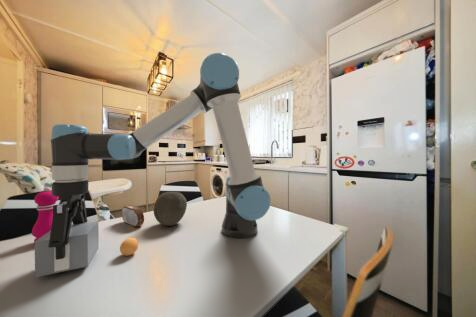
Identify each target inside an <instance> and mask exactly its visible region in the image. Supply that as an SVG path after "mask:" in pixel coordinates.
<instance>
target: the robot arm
mask: <svg viewBox="0 0 476 317" xmlns="http://www.w3.org/2000/svg"><path fill="white" fill-rule="evenodd" d="M199 74H200V81H199V84H198V85H197V86H196V88H194V89H192V90H191V91H190V92H189V93H190V94H189V95H188V96H186V97H185V98H184V99H182V100H180V101H179V102H177V103H176V104H174V105H173V106H170V107H169V108H168V109H166V110H165V111H163V112H162V113H160V114H158V115H157V116H156V117H155V116H154V117H153V119H151V120H149V121H148V122H146V123H144V124H143V125H140V127H138V128H136V129H135V130H134V131H132V132H130V133H129V134H122V133H90V132H89V129H88V127H87V126H83V125H78V124H66V123H63V124H61V123H59V124H55V125H53V126H52V128H51V138H50V147H51V168H50V169H49V172H50V173H51V180H52V181H53V182H52V183H51V191H52V195H53V196H56V197H59V203H58V204H57V205H54V206H53V219H52V226H51V233H50V240H49V248H51V247H54V272H56V271H61V270H66V269H69V268H70V243H68V238H69V234H70V229H71V225H73V224H81V223H88V215H87V207H86V195H85V194H87V193H88V192H89V180H87V179H89V160H116V161H123V160H133V159H136V158H138V157H140V156H141V154H142V153H143V152H145V150H147V149H148V148H150V147H151V146H153V145H154V144H156V143H158V142H159V141H161V140H162V139H164V138H165V137H166V136H168V135H169V134H171V133H173V132H174V131H175V130H177V129H179V128H180V127H181V126H183V125H184V124H186V123H188V122H190V121H191V120H193V119H194V118H196V117H197V116H199V114H201V113H203V114H206V113H208V112H209V111H211V110H212V111H213V114H214V118H215V122H216V125H217V130H218V133H219V137H220V141H221V144H222V149H223V152H224V157H225V160H226V163H227V168H228V172H229V176H228V177H227V178H226V179H225V180H226V181H225V214H224V216H223V220H222V223H221V232H222V234H224V235H225V236H227V237H228V238H229V237H230V238H235V239H236V238H237V239H246V238H250V237H253V236H255V235H256V234H257V232H258V223H257V220H260V219H262V218H263V217H264V216H266V215H267V213H268V212H269V209H270V207H271V204H272V201H271V200H272V199H271V195H270V193H269V191H268V190H267V189H266V188H265V187H264V184H263V179H262V177H261V176H262V175H261V174H260V173H259V172H257V171H255V167H254V162H253V159H252V154H251V150H250V146H249V142H248V137H247V134H246V130H245V127H244V123H243V119H242V114H241V109H240V106H239V100H240V99H241V98H242V94H241V92H240V91H241V90H240V88H239V79H240V68H239V66H238V64H237V61H236V60H234V59H233V58H232V57H231V56H230V55H228V54H225V53H222V52H214V53H212V54H211V53H210V54H209V55H207V56H206V57H205V58H204V59H203V61H202V63H201V66H200V70H199Z"/></svg>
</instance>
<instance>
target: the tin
mask: <svg viewBox="0 0 476 317" xmlns="http://www.w3.org/2000/svg"><path fill="white" fill-rule="evenodd" d="M121 218H122V221H123V222H124V223H125V224H126V225H129V226H131V227H134V228H137V227H140V226H142V225H144V222H145V217H144V211H143V210H142V209H141V207H139V206H135V205H133V204H128V205H125V206H124V205H123V207H121Z"/></svg>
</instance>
